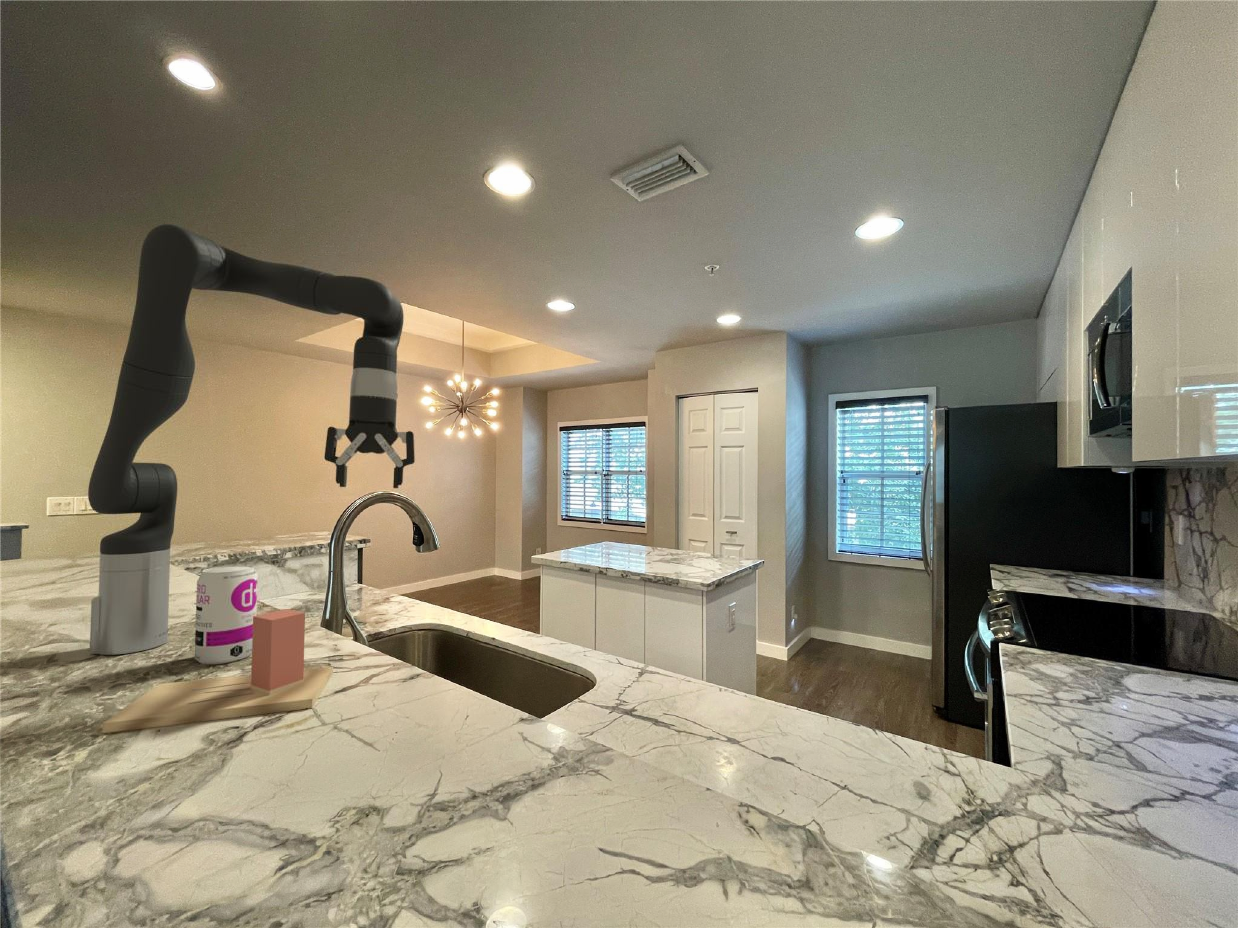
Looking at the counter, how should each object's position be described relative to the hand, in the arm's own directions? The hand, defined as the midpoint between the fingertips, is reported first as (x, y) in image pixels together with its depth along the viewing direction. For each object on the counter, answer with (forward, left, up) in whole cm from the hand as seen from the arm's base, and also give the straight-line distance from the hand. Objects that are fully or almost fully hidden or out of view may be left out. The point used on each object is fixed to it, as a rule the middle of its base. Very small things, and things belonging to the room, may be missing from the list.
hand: (369, 487), depth 89 cm
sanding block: (-9, -15, -28) cm, 33 cm away
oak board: (-14, -16, -29) cm, 36 cm away
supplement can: (-22, +4, -29) cm, 37 cm away
